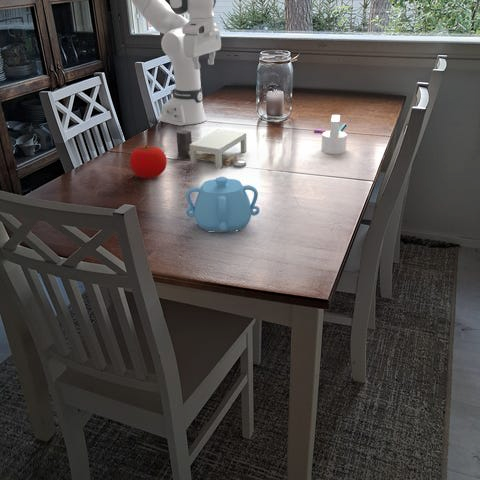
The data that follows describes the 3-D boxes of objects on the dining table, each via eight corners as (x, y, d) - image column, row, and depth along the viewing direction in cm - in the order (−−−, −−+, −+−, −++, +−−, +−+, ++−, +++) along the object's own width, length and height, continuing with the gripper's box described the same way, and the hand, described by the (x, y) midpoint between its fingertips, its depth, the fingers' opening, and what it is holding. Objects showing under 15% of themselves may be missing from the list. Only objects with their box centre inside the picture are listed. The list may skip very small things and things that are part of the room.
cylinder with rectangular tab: (345, 154, 188) (348, 122, 182) (320, 153, 190) (322, 121, 184) (345, 146, 196) (348, 115, 190) (322, 145, 197) (323, 114, 192)
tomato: (129, 173, 176) (125, 143, 171) (163, 167, 180) (160, 138, 175) (135, 184, 167) (131, 154, 162) (171, 179, 171) (168, 148, 166)
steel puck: (230, 167, 180) (229, 162, 179) (234, 162, 184) (234, 158, 183) (243, 168, 178) (243, 164, 178) (248, 163, 182) (248, 159, 182)
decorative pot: (228, 206, 151) (226, 163, 145) (265, 225, 140) (264, 178, 134) (182, 223, 142) (178, 178, 136) (218, 244, 131) (215, 196, 125)
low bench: (190, 163, 183) (189, 144, 180) (219, 146, 198) (218, 128, 195) (219, 168, 178) (219, 149, 175) (246, 151, 193) (246, 132, 190)
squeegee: (323, 120, 222) (346, 123, 218) (323, 124, 223) (345, 126, 219) (303, 142, 199) (328, 145, 196) (303, 146, 200) (328, 149, 197)
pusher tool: (176, 157, 189) (174, 133, 185) (185, 152, 194) (183, 129, 189) (228, 166, 180) (227, 141, 175) (236, 161, 184) (236, 136, 180)
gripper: (209, 22, 191) (211, 61, 198) (179, 29, 175) (181, 71, 182) (224, 23, 188) (225, 62, 195) (194, 30, 173) (197, 72, 179)
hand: (204, 66), depth 188 cm, fingers open, 8 cm apart
